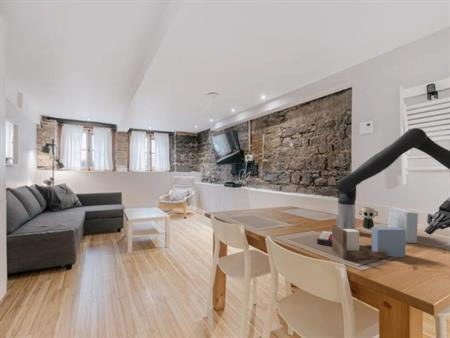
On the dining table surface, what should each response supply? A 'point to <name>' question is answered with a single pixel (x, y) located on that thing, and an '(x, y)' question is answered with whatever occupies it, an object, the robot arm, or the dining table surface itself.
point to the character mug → (368, 216)
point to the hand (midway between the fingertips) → (427, 232)
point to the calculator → (325, 238)
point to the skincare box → (404, 222)
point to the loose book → (389, 240)
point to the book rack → (341, 249)
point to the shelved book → (352, 240)
